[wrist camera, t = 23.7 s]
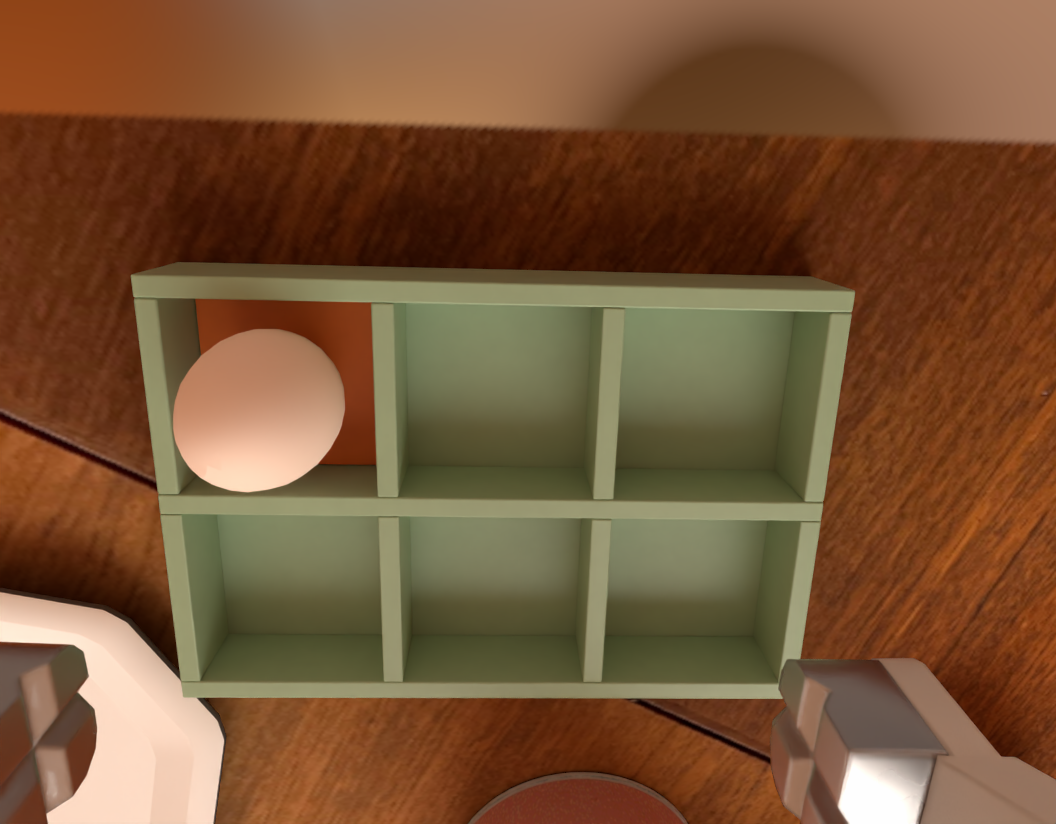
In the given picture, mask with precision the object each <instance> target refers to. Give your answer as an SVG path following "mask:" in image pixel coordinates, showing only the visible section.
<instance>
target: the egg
mask: <svg viewBox="0 0 1056 824" xmlns="http://www.w3.org/2000/svg"><path fill="white" fill-rule="evenodd" d="M344 412H345V397H344V386H343V383H342V380H341V377H340V374H339V372H338V370H337V368H336V366H335V365H334V363H333V362H332V360H331V359H330V358H329V357H328V356H327V355H326V354H325V352H324V351H323V350H322V349H321V348H320V347H318V346H317V345H315V344H314V343H312V342H311V341H310V340H308V339H307V338H305V337H303V336H300V335H298V334H295V333H293V332H289V331H285V330H280V329H253V330H250V331H246V332H242V333H238V334H236V335H233V336H231V337H229V338H226V339H224V340H222V341H220V342H219V343H217V344H216V345H215V346H213V347H212V348H211V349H209V350H208V351H207V352H205V353H204V354H203V355H201V356H200V358H199V359H198V360H197V361H196V362H195V363H194V365H193V366H192V367H191V368H190V370H189V371H188V373H187V374H186V376H185V378H184V379H183V381H182V382H181V384H180V386H179V390H178V393H177V396H176V399H175V404H174V413H173V431H174V437H175V441H176V444H177V446H178V449H179V451H180V453H181V456H182V457H183V459H184V460H185V462H186V463H187V465H188V466H189V468H190V469H191V470H192V471H193V472H195V473H196V474H197V475H198V476H199V477H200V478H202V479H203V480H205V481H207V482H209V483H210V484H212V485H215V486H218V487H221V488H224V489H227V490H231V491H240V492H253V491H261V490H269V489H272V488H276V487H280V486H284V485H287V484H289V483H291V482H293V481H295V480H296V479H298V478H300V477H301V476H303V475H304V474H306V473H307V472H308V471H310V470H311V469H312V468H313V467H315V466H316V465H317V464H318V463H319V462H320V461H321V459H322V458H323V457H324V456H325V455H326V453H327V452H328V451H329V450H330V448H331V447H332V445H333V443H334V441H335V439H336V437H337V436H338V434H339V431H340V429H341V426H342V421H343V417H344Z"/></svg>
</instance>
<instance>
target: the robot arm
mask: <svg viewBox="0 0 1056 824" xmlns="http://www.w3.org/2000/svg"><path fill="white" fill-rule="evenodd" d="M88 677H89V674H88V669H87V665H86V660H85V655H84V652H83V651H82V650H81V649H79V648H78V647H76V646H75V645H71V644H47V643H22V642H0V824H48V820H47V813H49V812H50V811H52V810H53V809H55V808H56V807H58V806H59V805H61V804H63V803H64V802H66V801H67V800H69V799H70V798H72V797H73V796H74V794H75V793H76V791H77V790H78V788H79V787H80V785H81V783H82V782H83V780H84V779H85V777H86V776H87V773H88V770H89V767H90V764H91V761H92V758H93V755H94V752H95V749H96V738H97V722H96V716H95V709H94V708H93V707H92V706H91V705H90V704H89V703H88V702H87V701H86V700H85V699H84V698H83V697H82V696H81V695H80V694H79V693H78V692H79V690H80V689H81V687H82V686H83V684H84V683H85V681H86V680H87V679H88ZM778 689H779V691H780V693H781V695H782V697H783V699H784V702H785V704H786V707H785V708H784V709H783V710H782V711H781V712H780V713H779V714H778V715H777V716H776V717H775V718H774V719H773V722H772V730H771V737H770V757H771V770H772V774H773V778H774V782H775V786H776V789H777V791H778V794H779V796H780V799H781V801H782V804H783V806H784V807H785V808H786V809H788V810H789V811H790V812H791V813H793V814H794V815H795V816H796V817H798V818H799V819H800V820H801V822H800V824H1056V780H1055V779H1054V778H1052V777H1050V776H1048V775H1046V774H1045V773H1043V772H1041V771H1039V770H1038V769H1036V768H1034V767H1032V766H1030V765H1029V764H1027V763H1025V762H1023V761H1022V760H1020V759H1018V758H1016V757H1001V756H1000V755H999V753H998V752H997V751H996V750H995V749H994V747H993V746H992V745H991V744H990V742H989V741H988V740H987V739H986V738H985V736H984V735H983V734H982V733H981V732H980V730H979V729H978V728H977V727H976V726H975V724H974V723H973V722H972V721H971V720H970V718H969V717H968V716H967V715H966V713H965V712H964V711H963V710H962V709H961V707H960V706H959V705H958V704H957V703H956V701H955V700H954V699H953V698H952V697H951V695H950V694H949V693H948V692H947V691H946V689H945V688H944V687H943V686H942V684H941V683H940V682H939V681H938V680H937V678H936V677H935V676H934V675H933V674H932V672H931V671H930V670H929V669H928V668H927V666H926V665H925V664H924V663H922V662H920V661H918V660H916V659H915V658H877V659H871V660H836V659H787V660H786V662H785V664H784V666H783V668H782V670H781V675H780V681H779V686H778Z"/></svg>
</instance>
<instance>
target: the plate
mask: <svg viewBox="0 0 1056 824" xmlns="http://www.w3.org/2000/svg"><path fill="white" fill-rule="evenodd" d="M0 642H22V643H47V644H71V645H75V646H76V647H78V648H79V649H81V650H82V651H83V652H84V655H85V660H86V665H87V669H88V674H89V677H88V679H87V680H86V681H85V683H84V684H83V686H82V687H81V689H80V690H79V692H78V693H79V694H80V695H81V696H82V697H83V698H84V699H85V700H86V701H87V702H88V703H89V704H90V705H91V706H92V707H93V708H94V709H95V716H96V722H97V738H96V749H95V752H94V755H93V758H92V761H91V764H90V767H89V770H88V773H87V776H86V777H85V779H84V780H83V782H82V783H81V785H80V787H79V788H78V790H77V791H76V793H75V794H74V796H73V797H72V798H70V799H69V800H67V801H66V802H64V803H63V804H61V805H59V806H58V807H56V808H55V809H53V810H52V811H50V812H49V813H47V820H48V824H215V819H216V812H217V804H218V796H219V789H220V781H221V774H222V766H223V759H224V751H225V744H226V733H225V730H224V727H223V724H222V721H221V718H220V715H219V714H218V713H217V712H216V711H215V709H214V708H213V707H212V706H211V705H210V704H209V703H208V702H207V701H206V700H205V699H204V698H184V697H183V693H182V685H181V679H180V671H179V670H178V669H177V668H176V667H175V666H174V665H173V664H172V663H171V662H170V660H169V659H168V658H167V657H166V656H165V655H164V654H163V653H162V652H161V651H160V650H159V648H158V647H157V646H156V645H155V644H154V643H153V642H152V641H151V640H150V639H149V638H148V636H147V635H146V634H145V633H144V632H143V631H142V630H141V629H140V628H139V627H138V626H137V624H136V623H135V622H134V621H133V620H132V619H131V618H130V617H128V616H126V615H124V614H122V613H120V612H118V611H116V610H114V609H113V608H111V607H109V606H106V605H100V604H94V603H88V602H82V601H76V600H71V599H65V598H59V597H53V596H47V595H41V594H35V593H30V592H24V591H18V590H12V589H6V588H0Z"/></svg>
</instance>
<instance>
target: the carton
mask: <svg viewBox="0 0 1056 824" xmlns="http://www.w3.org/2000/svg"><path fill="white" fill-rule="evenodd" d="M131 282H132V290H133V296H134V297H136V298H135V299H134V305H135V313H136V321H137V329H138V337H139V345H140V353H141V361H142V369H143V377H144V385H145V393H146V401H147V409H148V418H149V426H150V434H151V442H152V450H153V458H154V466H155V474H156V482H157V490H158V493H159V495H158V500H159V508H160V513H161V515H160V517H161V525H162V533H163V541H164V550H165V558H166V566H167V574H168V582H169V590H170V598H171V606H172V614H173V622H174V630H175V638H176V646H177V654H178V662H179V670H180V679H181V685H182V693H183V697H184V698H658V699H783V697H782V695H781V693H780V691H779V689H778V686H779V681H780V675H781V670H782V668H783V666H784V664H785V662H786V660H787V659H800V657H801V650H802V643H803V637H804V630H805V623H806V617H807V610H808V604H809V597H810V590H811V584H812V577H813V570H814V564H815V557H816V550H817V544H818V537H819V530H820V524H821V522H820V520H821V516H822V510H823V502H822V501H823V500H824V495H825V488H826V482H827V475H828V468H829V462H830V455H831V449H832V442H833V435H834V429H835V422H836V415H837V409H838V402H839V395H840V389H841V382H842V375H843V369H844V362H845V355H846V349H847V342H848V335H849V329H850V322H851V313H850V312H852V310H853V303H854V297H855V291H854V290H851V289H848V288H845V287H842V286H839V285H836V284H833V283H830V282H827V281H824V280H821V279H818V278H815V277H812V276H769V275H725V274H681V273H637V272H593V271H549V270H505V269H462V268H418V267H374V266H330V265H286V264H242V263H199V262H176V263H173V264H169V265H166V266H162V267H158V268H154V269H150V270H147V271H143V272H139V273H135V274H132V275H131ZM253 329H280V330H285V331H289V332H293V333H295V334H298V335H300V336H303V337H305V338H307V339H308V340H310V341H311V342H312V343H314V344H315V345H317V346H318V347H320V348H321V349H322V350H323V351H324V352H325V354H326V355H327V356H328V357H329V358H330V359H331V360H332V362H333V363H334V365H335V366H336V368H337V370H338V372H339V374H340V377H341V380H342V383H343V386H344V397H345V412H344V417H343V421H342V426H341V429H340V431H339V434H338V436H337V437H336V439H335V441H334V443H333V445H332V447H331V448H330V450H329V451H328V452H327V453H326V455H325V456H324V457H323V458H322V459H321V461H320V462H319V463H318V464H317V465H316V466H315V467H313V468H312V469H311V470H310V471H308V472H307V473H306V474H304V475H303V476H301V477H300V478H298V479H296V480H295V481H293V482H291V483H289V484H287V485H284V486H280V487H276V488H272V489H269V490H261V491H253V492H240V491H231V490H227V489H224V488H221V487H218V486H215V485H212V484H210V483H209V482H207V481H205V480H203V479H202V478H200V477H199V476H198V475H197V474H196V473H195V472H193V471H192V470H191V469H190V468H189V466H188V465H187V463H186V462H185V460H184V459H183V457H182V456H181V453H180V451H179V449H178V446H177V444H176V441H175V437H174V431H173V413H174V404H175V399H176V396H177V393H178V390H179V386H180V384H181V382H182V381H183V379H184V378H185V376H186V374H187V373H188V371H189V370H190V368H191V367H192V366H193V365H194V363H195V362H196V361H197V360H198V359H199V358H200V356H201V355H203V354H204V353H205V352H207V351H208V350H209V349H211V348H212V347H213V346H215V345H216V344H217V343H219V342H220V341H222V340H224V339H226V338H229V337H231V336H233V335H236V334H238V333H242V332H246V331H250V330H253Z"/></svg>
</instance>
